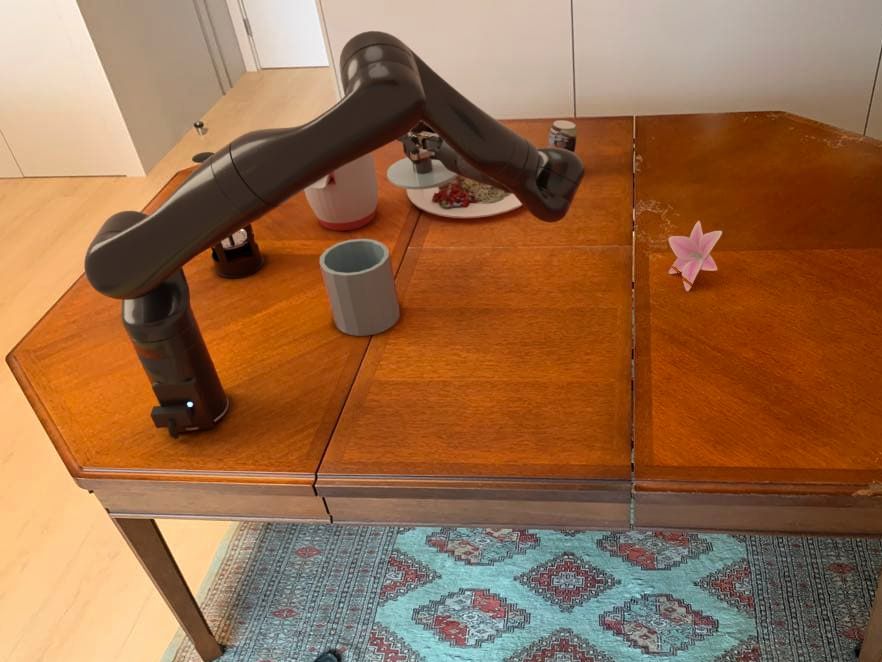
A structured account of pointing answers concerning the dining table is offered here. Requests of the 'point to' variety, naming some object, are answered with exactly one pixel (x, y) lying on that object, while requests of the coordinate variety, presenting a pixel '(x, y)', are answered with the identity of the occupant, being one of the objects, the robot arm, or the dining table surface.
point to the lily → (694, 253)
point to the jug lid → (419, 170)
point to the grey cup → (360, 286)
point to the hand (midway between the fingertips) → (406, 128)
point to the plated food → (463, 199)
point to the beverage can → (563, 135)
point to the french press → (235, 247)
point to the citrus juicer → (346, 195)
